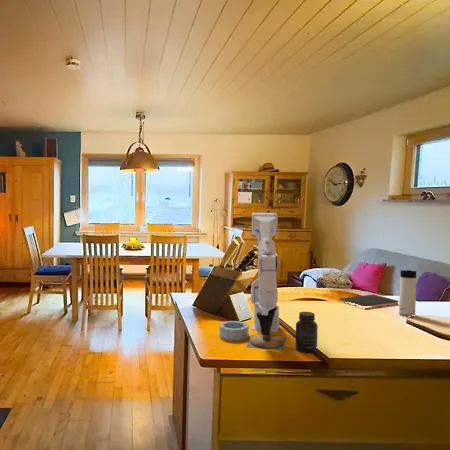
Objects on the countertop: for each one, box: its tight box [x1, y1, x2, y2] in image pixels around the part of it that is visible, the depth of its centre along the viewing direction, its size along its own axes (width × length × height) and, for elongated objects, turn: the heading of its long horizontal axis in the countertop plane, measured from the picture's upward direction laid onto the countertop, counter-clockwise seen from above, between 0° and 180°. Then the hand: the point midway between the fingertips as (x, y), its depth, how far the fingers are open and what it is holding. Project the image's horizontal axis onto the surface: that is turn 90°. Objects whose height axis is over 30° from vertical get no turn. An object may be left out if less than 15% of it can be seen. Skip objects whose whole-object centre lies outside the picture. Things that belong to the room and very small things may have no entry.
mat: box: [245, 334, 287, 352], centre depth 125 cm, size 12×12×1 cm
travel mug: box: [398, 269, 417, 317], centre depth 161 cm, size 6×7×20 cm
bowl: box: [218, 320, 250, 342], centre depth 132 cm, size 10×10×4 cm
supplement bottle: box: [295, 311, 319, 354], centre depth 119 cm, size 7×7×12 cm
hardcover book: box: [338, 294, 399, 308], centre depth 183 cm, size 16×23×2 cm
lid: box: [249, 326, 283, 348], centre depth 125 cm, size 11×11×6 cm
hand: (266, 331), depth 125 cm, fingers open, 7 cm apart
